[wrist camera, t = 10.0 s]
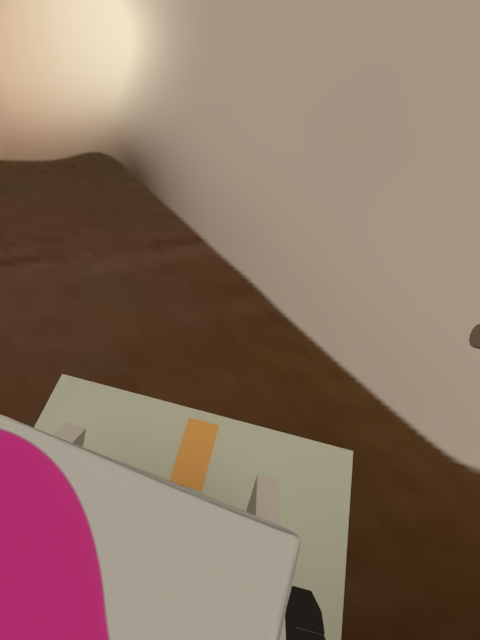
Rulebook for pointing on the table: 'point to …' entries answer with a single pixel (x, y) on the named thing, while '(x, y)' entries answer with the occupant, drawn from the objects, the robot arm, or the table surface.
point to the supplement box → (129, 552)
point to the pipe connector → (475, 337)
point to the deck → (225, 470)
